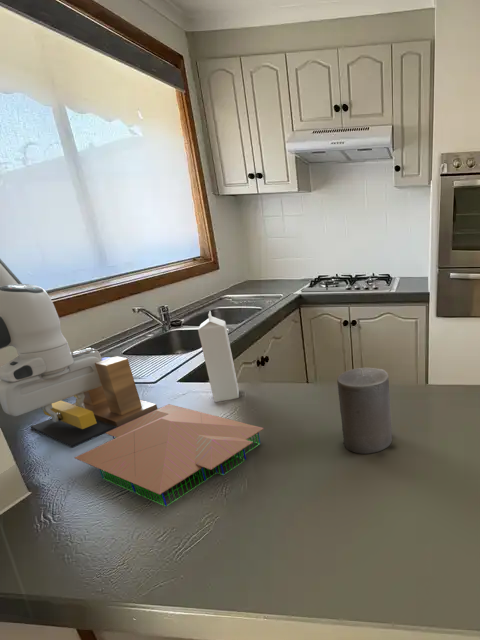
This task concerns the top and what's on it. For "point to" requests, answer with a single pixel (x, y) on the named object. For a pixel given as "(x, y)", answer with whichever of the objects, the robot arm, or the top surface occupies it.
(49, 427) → the mat
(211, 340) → the milk
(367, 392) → the pillar candle
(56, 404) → the bar
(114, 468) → the house
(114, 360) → the tower
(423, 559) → the top surface
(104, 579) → the top surface
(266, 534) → the top surface
